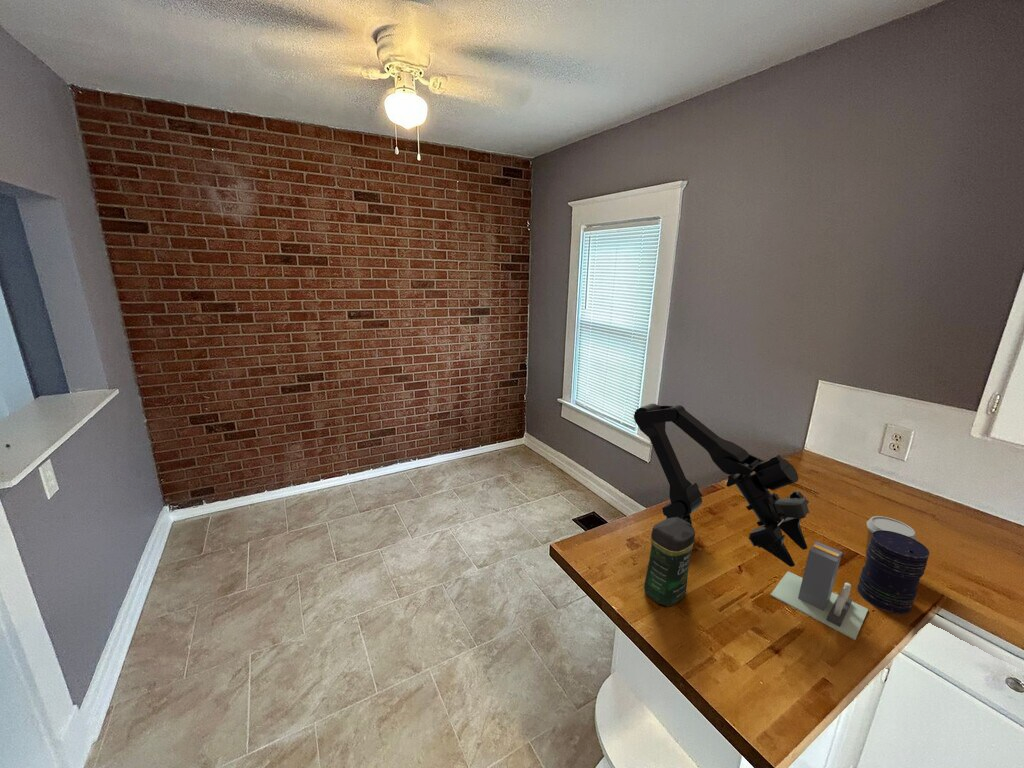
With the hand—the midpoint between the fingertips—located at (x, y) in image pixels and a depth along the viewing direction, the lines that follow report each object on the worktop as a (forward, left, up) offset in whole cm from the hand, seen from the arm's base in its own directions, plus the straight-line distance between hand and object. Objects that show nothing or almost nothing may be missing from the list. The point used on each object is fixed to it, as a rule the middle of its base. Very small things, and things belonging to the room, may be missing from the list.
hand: (799, 557), depth 98 cm
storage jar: (+20, +4, -9) cm, 22 cm away
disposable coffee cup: (+25, +17, -9) cm, 31 cm away
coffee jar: (-29, -10, -9) cm, 32 cm away
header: (+4, -2, -9) cm, 10 cm away
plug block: (+4, -2, -9) cm, 10 cm away
